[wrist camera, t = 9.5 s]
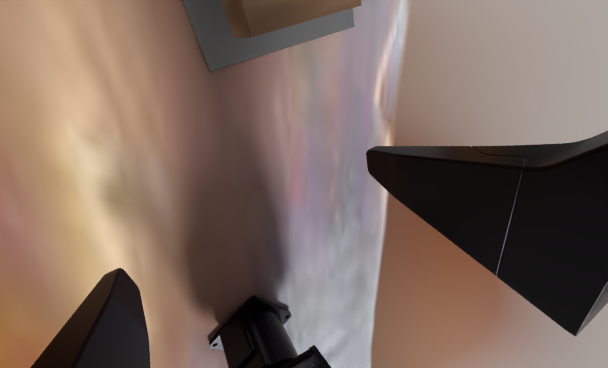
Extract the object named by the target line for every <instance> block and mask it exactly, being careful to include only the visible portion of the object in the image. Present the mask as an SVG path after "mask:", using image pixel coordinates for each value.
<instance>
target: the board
mask: <svg viewBox="0 0 608 368" xmlns="http://www.w3.org/2000/svg"><path fill="white" fill-rule="evenodd" d="M221 1H222V4H223V7H224V10H225V13H226V16H227V19H228V23H229V26H230V29H231V32H232V35H233V38H246V37H255V36H258V35H262V34H265V33H269V32H272V31H275V30H279V29H282V28H286V27H289V26H292V25H296V24H299V23H303V22H306V21H310V20H313V19H316V18H320V17H323V16H327V15H330V14H333V13H337V12H340V11H344V10H347V9H350V8H354V7H357V6H361V0H221Z"/></svg>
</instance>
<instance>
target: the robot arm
mask: <svg viewBox="0 0 608 368" xmlns="http://www.w3.org/2000/svg"><path fill="white" fill-rule="evenodd" d="M366 156H367V167H368V171H369V173H370V174H371V175H372V176H373V177H374V178H375V179H376V180H377V181H378V182H379V183H380V184H381V185H382V186H383V187H384V188H385V189H386V190H387V191H388V192H389V193H390V194H392V195H393V196H394V197H395V198H396V199H397V200H398V201H400V202H401V203H402V204H404V205H405V206H406V207H407V208H409V209H410V210H411V211H413V212H414V213H415V214H416V215H418V216H419V217H420V218H422V219H423V220H424V221H426V222H427V223H428V224H429V225H431V226H432V227H433V228H435V229H436V230H437V231H438V232H440V233H441V234H442V235H444V236H445V237H446V238H448V239H449V240H450V241H452V242H453V243H454V244H455V245H457V246H458V247H459V248H461V249H462V250H463V251H464V252H466V253H467V254H468V255H470V256H471V257H472V258H473V259H475V260H476V261H477V262H479V263H480V264H482V265H483V266H484V267H485V268H487V269H488V270H489V271H490V272H492V273H493V274H494V275H497V277H498V278H499V279H500V280H502V281H503V282H504V283H506V284H507V285H508V286H509V287H511V288H512V289H513V290H515V291H516V292H517V293H519V294H520V295H521V296H523V297H524V298H525V299H526V300H528V301H529V302H530V303H531V304H533V305H534V306H535V307H537V308H538V309H539V310H541V311H542V312H543V313H544V314H546V315H547V316H548V317H550V318H551V319H552V320H553V321H555V322H556V323H557V324H559V325H560V326H561V327H563V328H564V329H565V330H567V331H568V332H569V333H571V334H573V335H574V336H577V335H578V334H579V333H580V332H581V331H582V330H583V328H584V327H585V326H586V325H587V324H588V323H589V322H590V321H591V320H592V319H593V318H594V317H595V316H596V315H597V313H598V312H599V311H600V310H601V309H602V308H603V307H604V306H605V305H606V304H607V303H608V131H606V132H604V133H601V134H599V135H597V136H594V137H592V138H589V139H586V140H582V141H578V142H573V143H563V144H542V145H518V146H517V145H515V146H472V147H471V146H376V147H373V148H371V149H369V150H368V151H367V153H366ZM290 317H291V313H290V312H289V311H288V310H286V309H284V308H281V307H279V306H277V305H275V304H272V303H270V302H268V301H265V300H263V299H261V298H259V297H256V296H253V297H251V298H250V299H249V300H248V301H247V302H246V303H245V304H244V305H243V306H242V307H241V308H240V309H239V310H238V312H237V313H236V314H235V315H234V316H233V317H232V318H231V319H230V320H229V321H228V322H227V323H226V324H225V325H224V326H223V328H222V329H221V330H220V331H219V332H218V333H217V334H216V335H215V336H214V337H213V338H212V339H211V340H210V342H209V345H210V348H211V349H215V350H220V351H224V353H225V357H226V360H227V364H228V368H331V367H330V365H329V364H328V363H327V361H326V360H325V359H324V357H323V356H322V355H321V353H320V352H319V351H318V349H317V348H316V346H315V345H313V346H312V347H310V348H309V350H307V351H305V352H304V353H302V354H300V355H298V354H297V352H296V350H295V348H294V346H293V344H292V342H291V340H290V338H289V336H288V334H287V332H286V330H285V328H284V326H283V325H284V324H285V323H286V321H287V320H288V319H289V318H290ZM31 368H150V353H149V338H148V332H147V326H146V321H145V316H144V311H143V306H142V300H141V295H140V291H139V288H138V287H137V285H136V284H135V283H134V281H133V280H132V279H131V278H130V277H129V275H128V274H127V273H126V272H125V271H124V270H123V269H121V268H118V269H115V270H113V271H111V272H109V273H107V274H105V275H104V276H103V277H102V279H101V280H100V281H99V282H98V284H97V285H96V286H95V287H94V289H93V290H92V291H91V292H90V294H89V295H88V296H87V297H86V299H85V300H84V301H83V302H82V304H81V305H80V306H79V307H78V309H77V310H76V311H75V312H74V314H73V315H72V316H71V318H70V319H69V320H68V321H67V323H66V324H65V325H64V326H63V328H62V329H61V330H60V331H59V333H58V334H57V335H56V336H55V338H54V339H53V340H52V341H51V343H50V344H49V345H48V346H47V348H46V349H45V350H44V351H43V353H42V354H41V355H40V356H39V358H38V359H37V360H36V361H35V363H34V364H33V365H32V366H31Z"/></svg>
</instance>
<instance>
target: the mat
mask: <svg viewBox="0 0 608 368" xmlns="http://www.w3.org/2000/svg"><path fill="white" fill-rule="evenodd" d="M182 2H183V4H184V7H185V9H186V12H187V15H188V17H189V20H190V22H191V25H192V28H193V30H194V33H195V35H196V38H197V40H198V43H199V46H200V48H201V51H202V53H203V56H204V59H205V61H206V64H207V66H208V69H209V71H210V72H211V71H214V70H217V69H221V68H224V67H227V66H230V65H233V64H236V63H240V62H243V61H246V60H249V59H252V58H256V57H259V56H262V55H265V54H268V53H272V52H275V51H278V50H281V49H284V48H287V47H291V46H294V45H297V44H300V43H303V42H307V41H310V40H313V39H316V38H319V37H322V36H326V35H329V34H332V33H335V32H338V31H342V30H345V29H348V28H351V27H354V20H353V9H352V8H350V9H347V10H344V11H340V12H337V13H333V14H330V15H327V16H323V17H320V18H316V19H313V20H310V21H306V22H303V23H299V24H296V25H292V26H289V27H286V28H282V29H279V30H275V31H272V32H269V33H265V34H262V35H258V36H255V37H246V38H233V35H232V32H231V29H230V26H229V23H228V19H227V16H226V13H225V10H224V7H223V4H222V1H221V0H182Z"/></svg>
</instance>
